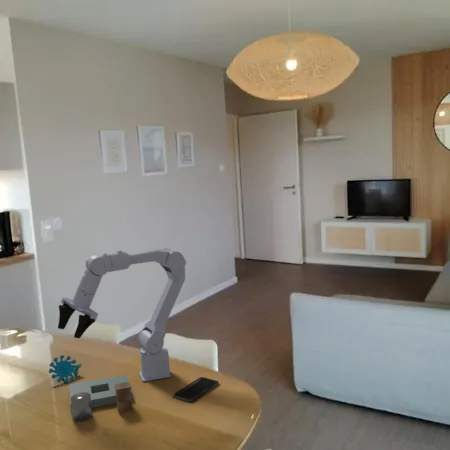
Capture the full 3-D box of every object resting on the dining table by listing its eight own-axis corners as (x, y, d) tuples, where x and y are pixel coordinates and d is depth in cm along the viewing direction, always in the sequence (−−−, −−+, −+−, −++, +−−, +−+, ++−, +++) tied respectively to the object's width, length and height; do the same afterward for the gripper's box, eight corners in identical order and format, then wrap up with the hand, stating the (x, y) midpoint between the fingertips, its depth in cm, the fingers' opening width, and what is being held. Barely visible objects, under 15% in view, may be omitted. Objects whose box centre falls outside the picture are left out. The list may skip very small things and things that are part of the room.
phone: (171, 395, 143) (201, 376, 156) (172, 398, 144) (201, 379, 156) (192, 401, 139) (220, 381, 151) (192, 404, 139) (220, 384, 152)
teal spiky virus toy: (51, 383, 153) (47, 355, 159) (47, 391, 157) (43, 364, 162) (85, 378, 159) (79, 352, 165) (80, 386, 163) (75, 360, 169)
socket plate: (126, 381, 156) (125, 374, 156) (132, 400, 143) (132, 392, 143) (70, 391, 150) (69, 384, 150) (71, 412, 137) (70, 404, 137)
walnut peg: (130, 403, 141) (128, 381, 140) (132, 409, 137) (130, 387, 136) (116, 406, 139) (115, 384, 139) (118, 412, 136) (116, 389, 135)
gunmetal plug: (91, 410, 138) (90, 390, 137) (92, 419, 133) (91, 399, 132) (72, 414, 136) (70, 394, 135) (72, 423, 131) (70, 403, 130)
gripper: (61, 282, 147) (44, 323, 145) (93, 297, 139) (75, 341, 138) (77, 286, 153) (60, 325, 151) (108, 301, 145) (91, 342, 144)
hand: (68, 333), depth 145 cm, fingers open, 7 cm apart
